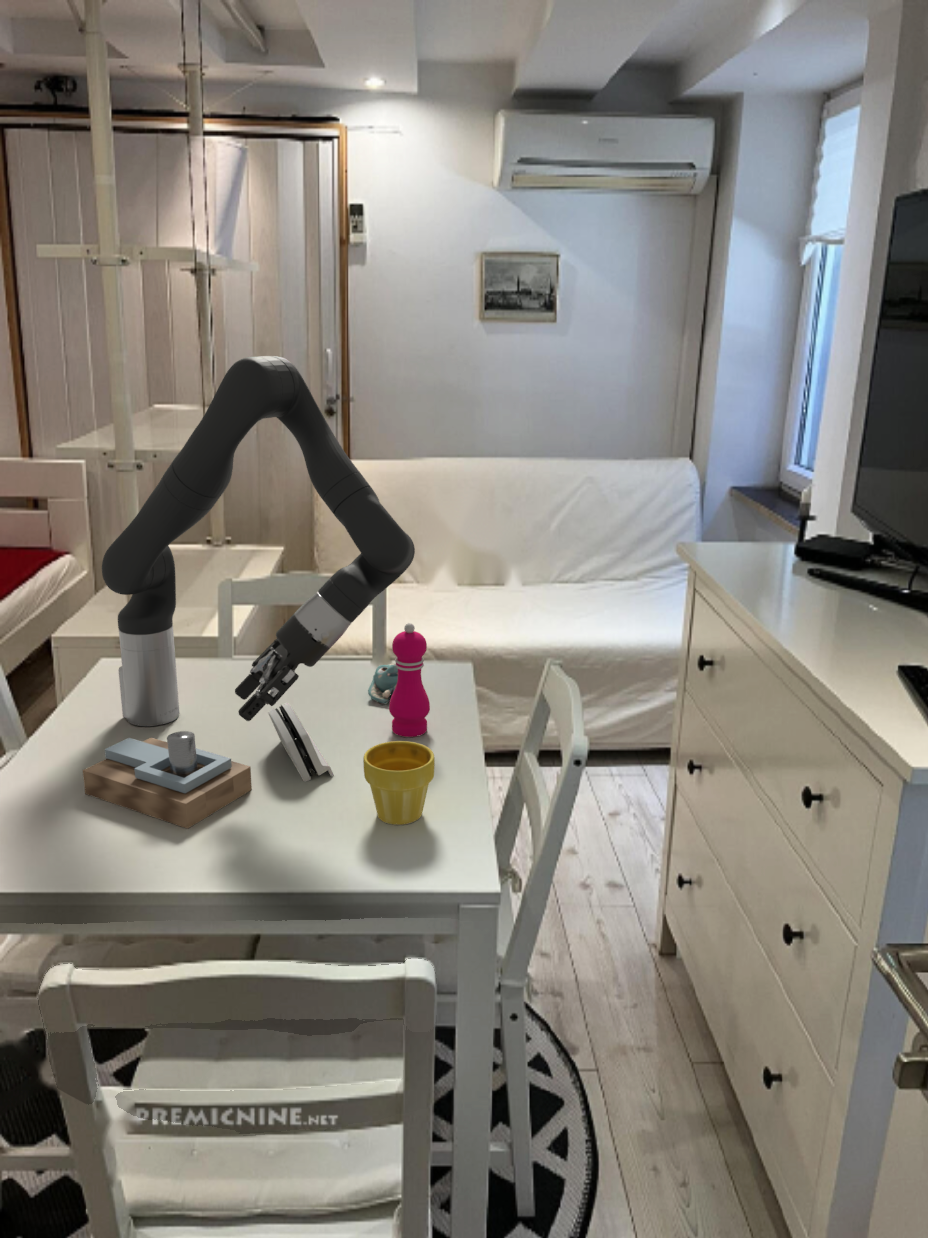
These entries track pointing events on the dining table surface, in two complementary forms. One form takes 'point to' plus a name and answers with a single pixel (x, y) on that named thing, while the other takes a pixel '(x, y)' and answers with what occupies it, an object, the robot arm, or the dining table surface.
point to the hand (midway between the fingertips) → (240, 706)
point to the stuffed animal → (383, 683)
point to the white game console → (298, 743)
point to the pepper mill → (409, 685)
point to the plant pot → (399, 779)
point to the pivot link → (165, 764)
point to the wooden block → (165, 791)
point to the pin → (182, 753)
